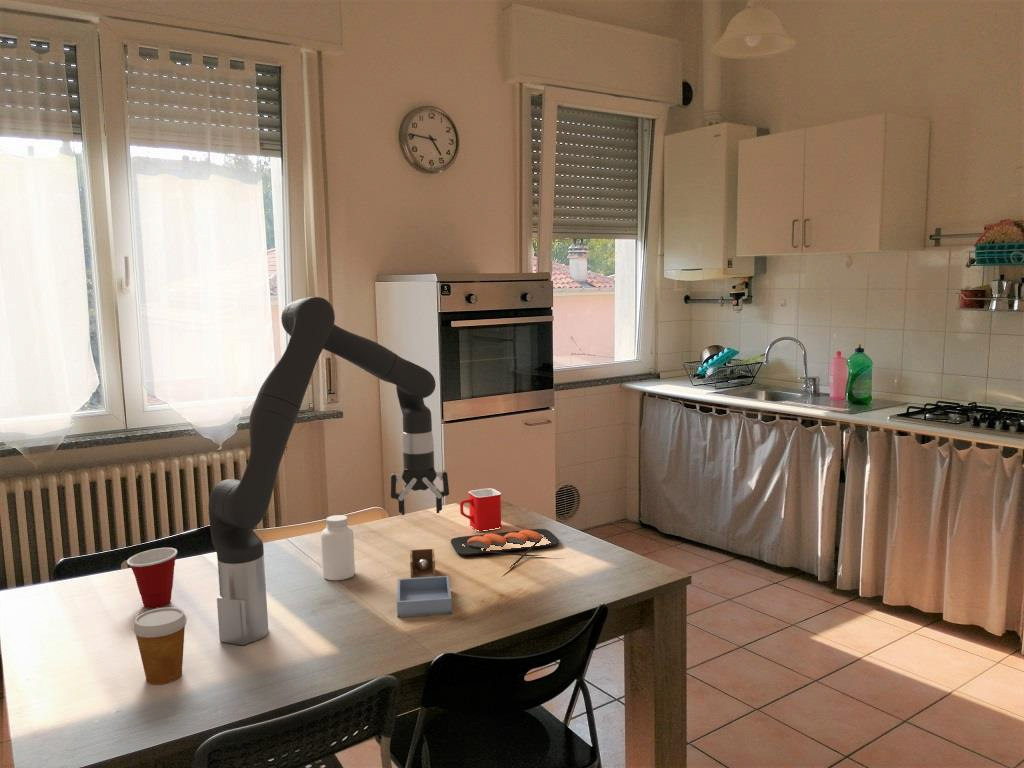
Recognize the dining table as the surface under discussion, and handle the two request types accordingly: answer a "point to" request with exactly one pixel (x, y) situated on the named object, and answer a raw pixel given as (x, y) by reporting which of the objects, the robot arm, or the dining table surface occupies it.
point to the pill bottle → (337, 549)
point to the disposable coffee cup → (161, 643)
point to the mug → (483, 509)
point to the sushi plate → (502, 542)
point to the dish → (424, 596)
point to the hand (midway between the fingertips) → (420, 513)
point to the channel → (422, 554)
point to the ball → (423, 564)
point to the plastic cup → (154, 575)
